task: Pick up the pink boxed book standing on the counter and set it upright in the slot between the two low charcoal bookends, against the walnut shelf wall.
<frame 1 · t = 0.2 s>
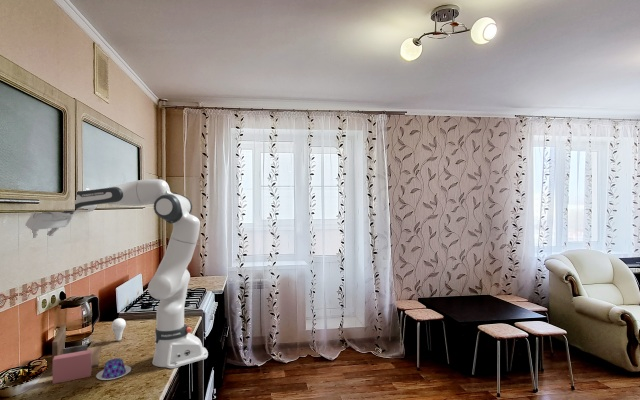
hand: (41, 236, 152), 54 cm above the worktop, tool tilted 30°, fingers open, 8 cm apart
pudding: (114, 374, 140), on the worktop
lightbulb: (118, 341, 173), on the worktop
book: (72, 377, 136), on the worktop
shelf stand: (77, 360, 151), on the worktop
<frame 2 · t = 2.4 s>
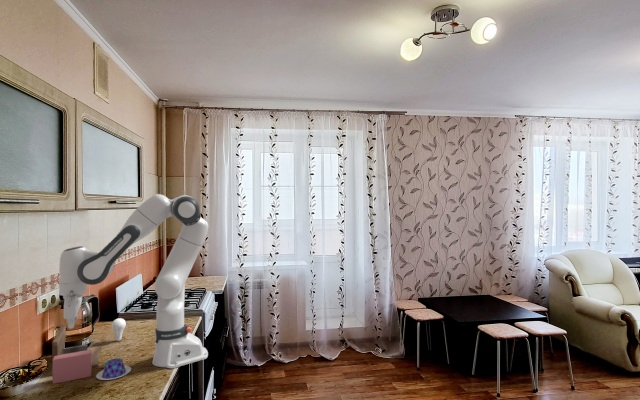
hand: (72, 324, 137), 21 cm above the worktop, tool pointing down, fingers open, 8 cm apart
nothing on the worktop moved.
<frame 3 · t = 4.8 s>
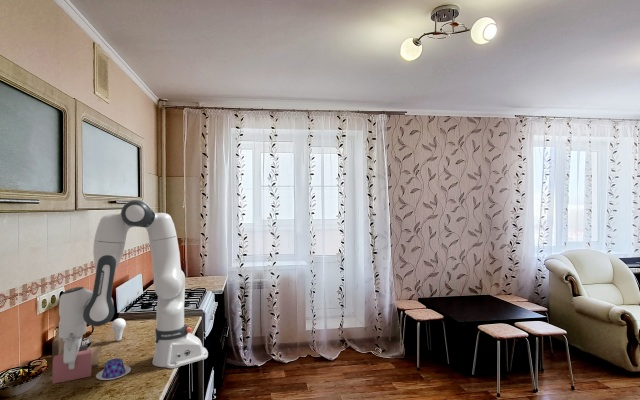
hand: (72, 365, 137), 5 cm above the worktop, tool pointing down, fingers closed on book, 4 cm apart
book: (72, 377, 136), on the worktop, touching gripper
everything else where it was.
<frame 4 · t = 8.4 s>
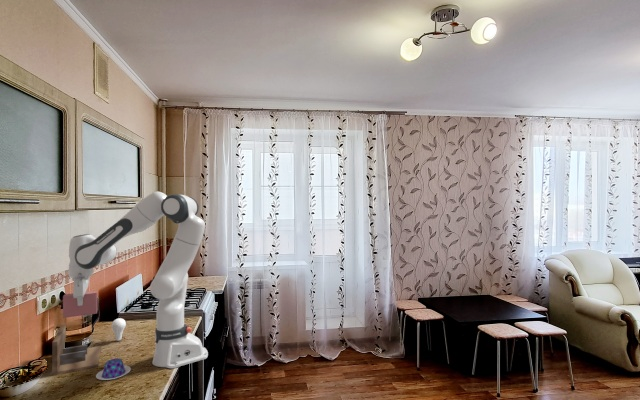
hand: (80, 303, 152), 24 cm above the worktop, tool pointing down, fingers closed on book, 4 cm apart
book: (80, 314, 152), point 20 cm above the worktop, touching gripper
everything else where it was.
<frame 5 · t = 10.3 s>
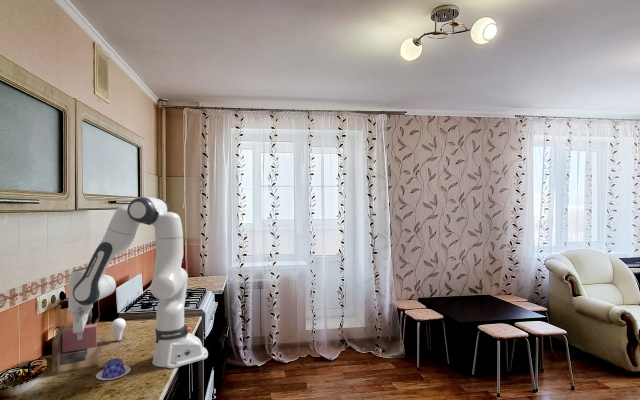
hand: (80, 337, 152), 10 cm above the worktop, tool pointing down, fingers closed on book, 4 cm apart
book: (80, 348, 152), point 5 cm above the worktop, touching gripper
everything else where it was.
when the fingers open (6 cm above the worktop, at t = 11.8 s): book stays where it is, resting on shelf stand.
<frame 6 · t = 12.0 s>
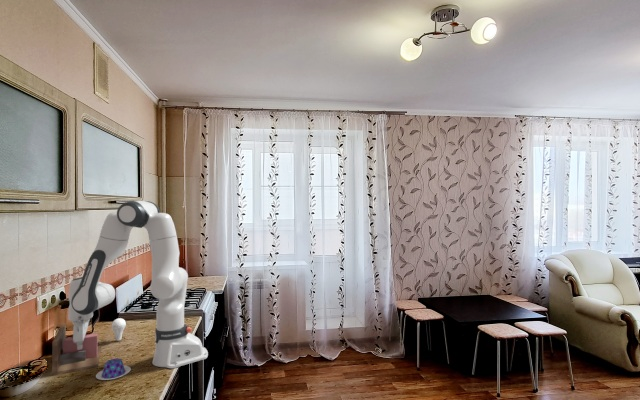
hand: (80, 346, 152), 6 cm above the worktop, tool pointing down, fingers open, 5 cm apart
book: (80, 358, 152), point 1 cm above the worktop, touching shelf stand
everything else where it was.
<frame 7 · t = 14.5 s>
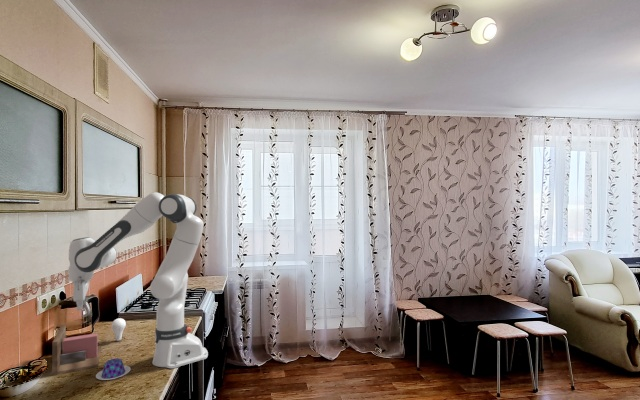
hand: (81, 306, 152), 23 cm above the worktop, tool pointing down, fingers open, 8 cm apart
nothing on the worktop moved.
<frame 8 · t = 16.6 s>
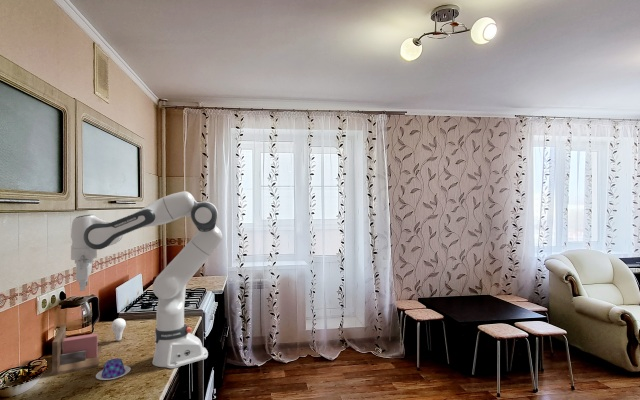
hand: (83, 288, 144), 33 cm above the worktop, tool pointing down, fingers open, 8 cm apart
at the end: book 0.1 cm from the target spot on the shelf stand, point 1.0 cm above the shelf stand's base; book tilted 0°; the gripper is holding nothing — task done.
